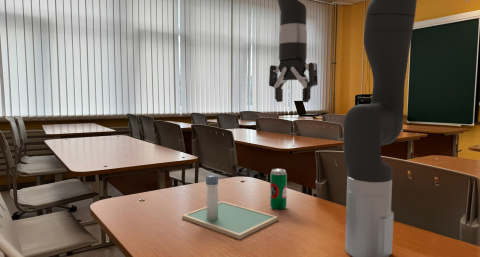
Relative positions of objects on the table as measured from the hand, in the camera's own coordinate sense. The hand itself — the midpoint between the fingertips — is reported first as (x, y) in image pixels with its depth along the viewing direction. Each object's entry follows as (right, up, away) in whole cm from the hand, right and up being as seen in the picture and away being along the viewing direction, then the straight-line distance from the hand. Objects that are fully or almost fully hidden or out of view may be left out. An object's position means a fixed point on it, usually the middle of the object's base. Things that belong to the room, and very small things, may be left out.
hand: (292, 102), depth 96 cm
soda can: (-3, -32, +11) cm, 34 cm away
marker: (-22, -33, 0) cm, 39 cm away
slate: (-18, -33, +1) cm, 38 cm away
